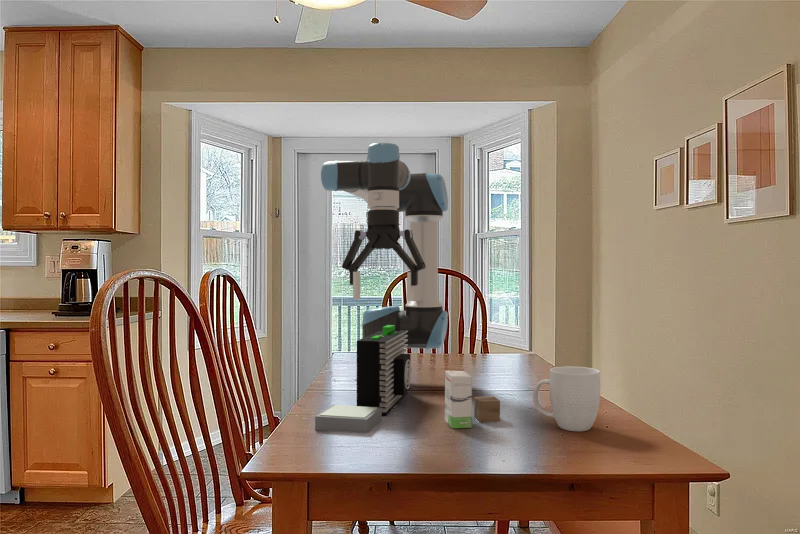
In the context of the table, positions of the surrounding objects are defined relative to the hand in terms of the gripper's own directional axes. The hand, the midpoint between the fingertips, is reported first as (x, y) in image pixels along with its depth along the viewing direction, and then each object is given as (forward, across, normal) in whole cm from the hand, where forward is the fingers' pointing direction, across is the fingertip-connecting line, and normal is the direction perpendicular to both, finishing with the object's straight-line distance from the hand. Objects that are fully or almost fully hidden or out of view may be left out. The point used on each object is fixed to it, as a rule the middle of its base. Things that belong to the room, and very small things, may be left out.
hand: (383, 299), depth 155 cm
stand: (+28, -6, -7) cm, 30 cm away
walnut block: (+28, +23, +8) cm, 38 cm away
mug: (+29, +42, +7) cm, 52 cm away
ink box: (+29, +18, +2) cm, 34 cm away
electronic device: (+29, -5, +17) cm, 34 cm away
